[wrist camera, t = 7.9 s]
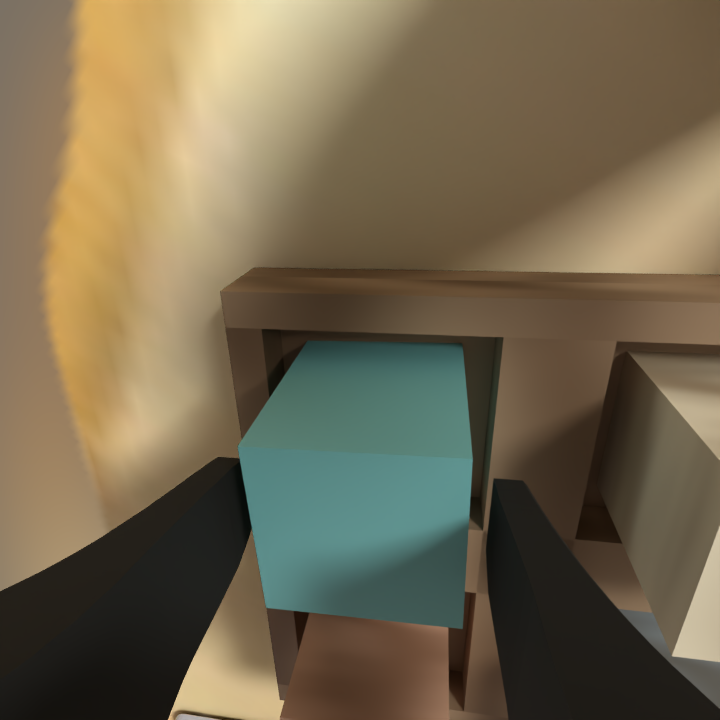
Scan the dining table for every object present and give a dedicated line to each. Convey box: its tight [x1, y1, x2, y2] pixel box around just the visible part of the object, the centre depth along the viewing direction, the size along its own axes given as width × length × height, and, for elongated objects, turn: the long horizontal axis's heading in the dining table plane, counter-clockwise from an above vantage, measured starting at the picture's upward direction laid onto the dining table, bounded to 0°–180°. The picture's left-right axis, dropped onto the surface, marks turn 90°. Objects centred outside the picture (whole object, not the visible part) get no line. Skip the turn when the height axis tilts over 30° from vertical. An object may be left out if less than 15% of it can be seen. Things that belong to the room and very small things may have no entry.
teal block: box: [237, 341, 473, 629], centre depth 13 cm, size 4×4×6 cm
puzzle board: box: [220, 268, 720, 720], centre depth 14 cm, size 17×17×6 cm
